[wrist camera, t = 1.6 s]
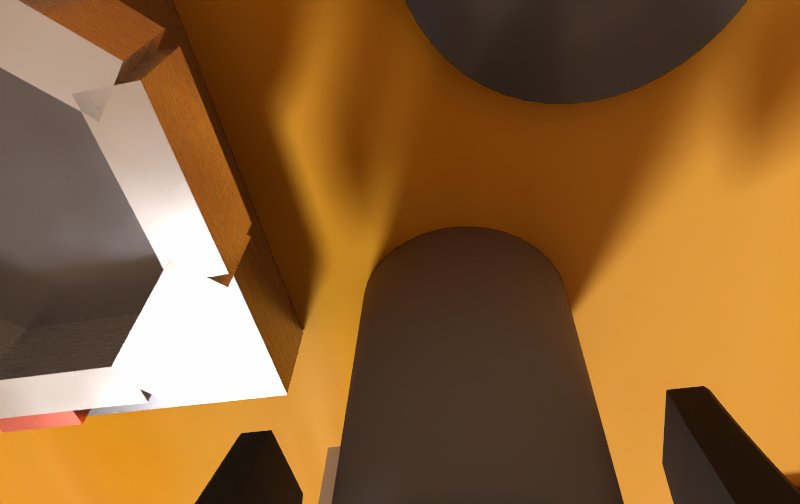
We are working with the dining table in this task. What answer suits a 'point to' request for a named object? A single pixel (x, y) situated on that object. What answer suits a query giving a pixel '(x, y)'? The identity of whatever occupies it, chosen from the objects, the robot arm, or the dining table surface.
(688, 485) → the robot arm
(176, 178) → the grey octagonal container
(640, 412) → the dining table surface
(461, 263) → the lens
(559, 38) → the lens cap
